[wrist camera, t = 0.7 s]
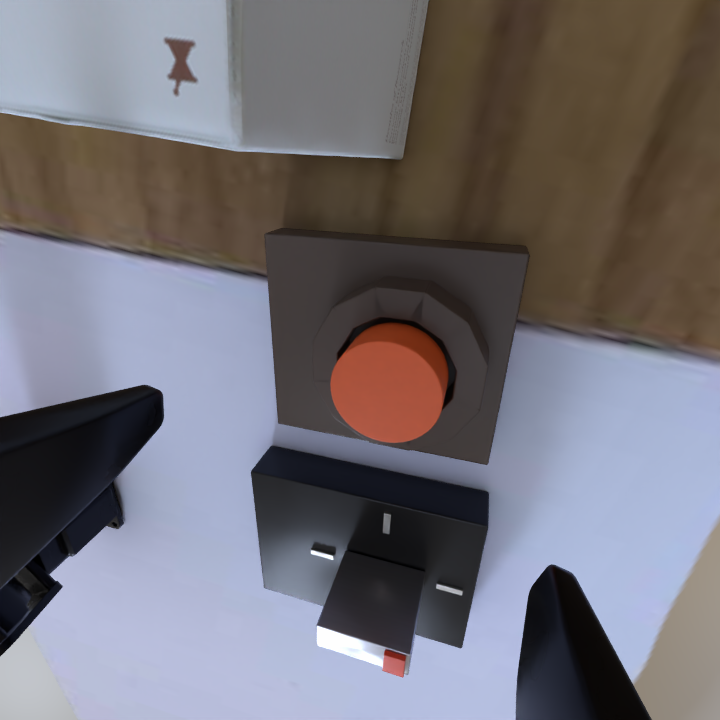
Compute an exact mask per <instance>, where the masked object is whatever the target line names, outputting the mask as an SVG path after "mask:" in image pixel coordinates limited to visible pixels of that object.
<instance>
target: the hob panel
mask: <svg viewBox="0 0 720 720" xmlns="http://www.w3.org/2000/svg"><path fill="white" fill-rule="evenodd" d="M251 477H252V485H253V494H254V503H255V512H256V521H257V529H258V538H259V547H260V556H261V565H262V573H263V582H264V588H266V589H269V590H272V591H275V592H279V593H282V594H285V595H288V596H292V597H295V598H298V599H301V600H305V601H308V602H311V603H314V604H318V605H321V606H324V604H325V602H326V599H327V597H328V594H329V591H330V589H331V586H332V584H333V581H334V579H335V576H336V573H337V571H338V568H339V566H340V563H341V561H342V558H343V555H344V553H345V551H349V552H353V553H357V554H361V555H364V556H368V557H372V558H376V559H379V560H383V561H387V562H390V563H394V564H398V565H402V566H405V567H409V568H413V569H417V570H420V571H424V572H425V577H424V585H423V592H422V598H421V603H420V609H419V615H418V621H417V627H416V633H415V634H416V635H419V636H422V637H425V638H429V639H432V640H435V641H438V642H442V643H445V644H448V645H452V646H455V647H458V648H462V645H463V641H464V636H465V632H466V627H467V622H468V618H469V613H470V609H471V604H472V599H473V595H474V590H475V586H476V581H477V576H478V572H479V567H480V563H481V558H482V553H483V549H484V544H485V540H486V535H487V531H488V518H489V493H488V492H485V491H480V490H475V489H471V488H466V487H461V486H457V485H452V484H447V483H443V482H438V481H433V480H429V479H424V478H419V477H415V476H410V475H405V474H401V473H396V472H391V471H387V470H382V469H377V468H373V467H368V466H363V465H358V464H354V463H349V462H344V461H340V460H335V459H330V458H326V457H321V456H316V455H312V454H307V453H302V452H298V451H293V450H288V449H284V448H279V447H274V446H271V447H270V448H269V449H268V450H267V452H266V453H265V454H264V455H263V457H262V458H261V459H260V461H259V462H258V463H257V464H256V466H255V467H254V468H253V469H252V471H251Z"/></svg>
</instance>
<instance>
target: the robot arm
mask: <svg viewBox="0 0 720 720" xmlns="http://www.w3.org/2000/svg"><path fill="white" fill-rule="evenodd" d="M163 419H164V407H163V394H162V392H161V391H160V390H158V389H155V388H153V387H151V386H148V385H141V386H136V387H132V388H128V389H123V390H119V391H114V392H110V393H106V394H101V395H97V396H92V397H88V398H84V399H79V400H75V401H70V402H66V403H62V404H57V405H53V406H49V407H44V408H40V409H35V410H31V411H27V412H22V413H18V414H13V415H9V416H5V417H0V656H1V655H2V654H3V653H4V652H5V651H6V650H7V649H8V648H9V647H10V646H11V645H12V644H13V643H14V642H15V641H16V640H17V639H18V638H19V636H20V635H21V634H22V633H23V632H24V631H25V629H26V628H27V627H28V626H29V625H30V624H31V623H32V622H33V620H34V619H35V618H36V617H37V616H38V615H39V614H40V612H41V611H42V610H43V609H44V608H45V607H46V606H47V604H48V603H49V602H50V601H51V600H52V599H53V597H54V596H55V595H56V594H57V593H58V592H59V591H60V589H61V588H62V587H63V586H62V585H61V584H60V583H59V582H58V581H55V580H54V579H53V578H52V577H51V576H50V575H49V574H50V573H51V572H52V571H54V570H55V569H56V568H57V567H58V566H59V565H60V564H61V563H62V562H63V561H64V560H65V559H67V558H68V557H69V556H74V555H75V554H77V553H78V552H79V551H80V550H81V549H82V548H83V547H84V546H85V545H86V544H87V543H88V542H89V541H90V540H92V539H93V538H94V537H95V536H96V535H97V534H98V533H99V532H100V531H101V530H102V529H103V528H104V527H105V526H108V527H112V528H115V529H119V528H120V527H121V526H122V525H123V524H124V522H123V518H122V515H121V512H120V508H119V505H118V502H117V499H116V495H115V492H114V489H113V485H112V481H113V480H114V479H115V478H116V477H117V476H118V475H119V474H120V473H121V472H122V471H123V470H124V469H125V467H126V466H127V465H128V464H129V463H130V462H131V460H132V459H133V458H134V457H135V456H136V455H137V453H138V452H139V451H140V450H141V449H142V448H143V446H144V445H145V444H146V443H147V442H148V441H149V439H150V438H151V437H152V436H153V435H154V434H155V432H156V431H157V430H158V429H159V428H160V426H161V424H162V422H163ZM516 720H652V719H651V717H650V716H649V714H648V712H647V710H646V708H645V706H644V705H643V703H642V701H641V699H640V697H639V695H638V693H637V691H636V690H635V688H634V686H633V684H632V682H631V680H630V678H629V676H628V674H627V673H626V671H625V669H624V667H623V665H622V663H621V661H620V660H619V658H618V656H617V654H616V652H615V650H614V648H613V646H612V645H611V643H610V641H609V639H608V637H607V635H606V633H605V631H604V630H603V628H602V626H601V624H600V622H599V620H598V618H597V616H596V615H595V613H594V611H593V609H592V607H591V605H590V603H589V602H588V600H587V598H586V596H585V594H584V592H583V590H582V588H581V587H580V585H579V583H578V581H577V579H576V577H575V576H574V575H573V574H572V573H571V572H569V571H567V570H565V569H563V568H560V567H558V566H556V565H549V566H548V567H547V568H546V569H545V570H544V572H543V573H542V574H541V575H540V577H539V578H538V579H537V580H536V582H535V583H534V584H533V586H532V587H531V589H530V592H529V596H528V602H527V609H526V616H525V624H524V631H523V638H522V645H521V652H520V660H519V667H518V676H517V691H516Z"/></svg>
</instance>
